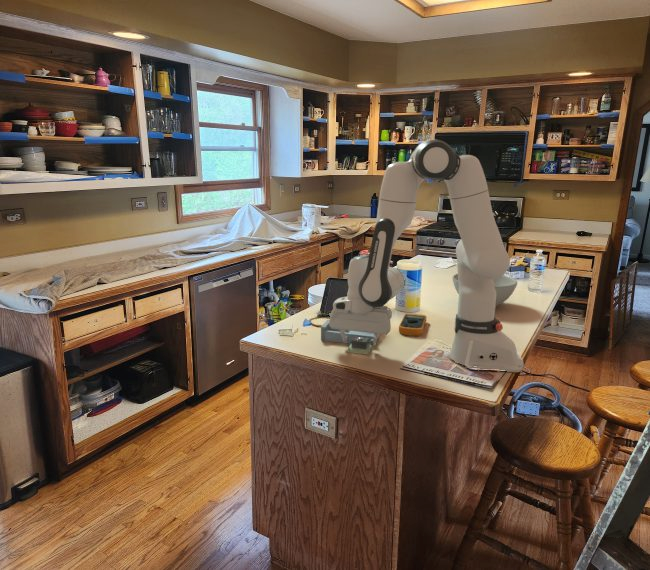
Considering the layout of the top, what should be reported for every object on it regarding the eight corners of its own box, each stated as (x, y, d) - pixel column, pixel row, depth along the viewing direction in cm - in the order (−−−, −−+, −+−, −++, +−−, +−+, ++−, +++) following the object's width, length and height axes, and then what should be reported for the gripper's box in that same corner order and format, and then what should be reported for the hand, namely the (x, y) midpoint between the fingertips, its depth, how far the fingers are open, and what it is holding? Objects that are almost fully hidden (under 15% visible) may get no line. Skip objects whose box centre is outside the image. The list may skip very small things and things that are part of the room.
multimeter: (397, 335, 175) (398, 326, 174) (404, 320, 191) (405, 312, 190) (421, 338, 172) (421, 329, 171) (426, 322, 189) (426, 314, 188)
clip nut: (368, 345, 162) (368, 336, 161) (366, 349, 158) (366, 340, 157) (354, 343, 163) (354, 335, 162) (351, 347, 159) (351, 339, 159)
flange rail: (378, 338, 171) (378, 325, 169) (374, 346, 163) (374, 332, 162) (327, 332, 176) (327, 319, 175) (320, 340, 169) (321, 326, 167)
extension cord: (346, 318, 194) (346, 313, 193) (329, 330, 180) (329, 325, 180) (320, 314, 199) (320, 309, 199) (301, 325, 186) (301, 320, 185)
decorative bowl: (528, 311, 203) (531, 283, 200) (475, 317, 194) (478, 288, 191) (487, 295, 227) (489, 270, 224) (438, 300, 218) (440, 274, 215)
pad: (372, 346, 163) (372, 343, 163) (368, 354, 156) (368, 351, 156) (352, 344, 165) (352, 341, 165) (347, 351, 158) (347, 349, 158)
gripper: (393, 304, 157) (391, 343, 160) (333, 298, 162) (332, 336, 165) (390, 309, 151) (388, 350, 154) (328, 303, 156) (327, 343, 160)
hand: (359, 343), depth 160 cm, fingers open, 8 cm apart
